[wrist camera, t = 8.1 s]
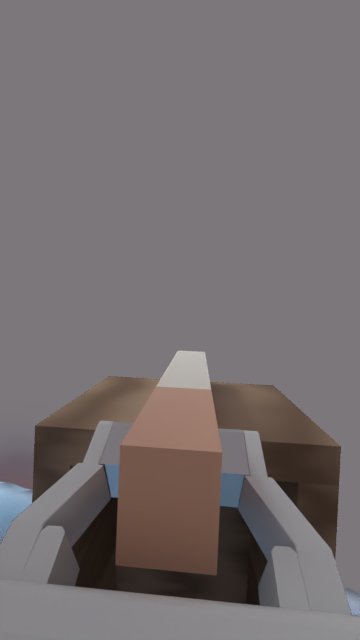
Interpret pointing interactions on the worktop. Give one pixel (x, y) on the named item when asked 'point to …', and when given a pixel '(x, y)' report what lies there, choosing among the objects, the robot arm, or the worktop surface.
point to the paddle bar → (172, 475)
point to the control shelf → (234, 535)
